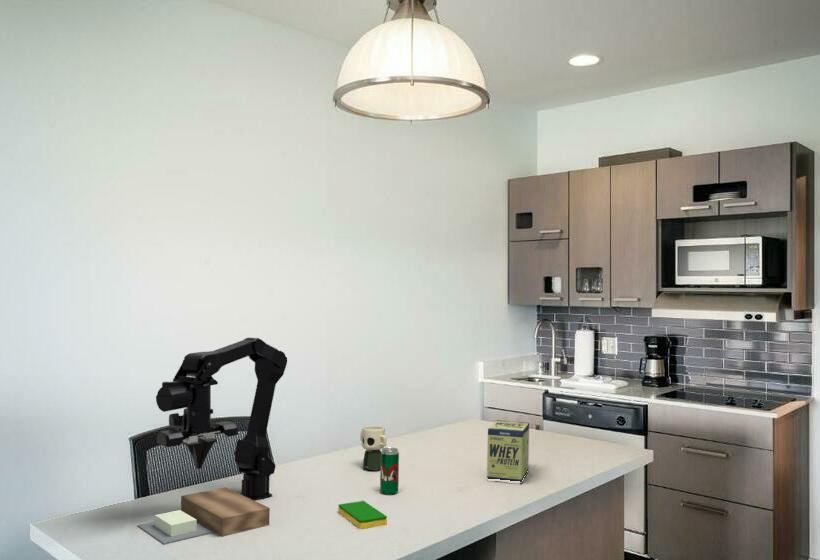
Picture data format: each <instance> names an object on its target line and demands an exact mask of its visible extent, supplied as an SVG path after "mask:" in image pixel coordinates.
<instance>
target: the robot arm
mask: <svg viewBox="0 0 820 560" xmlns="http://www.w3.org/2000/svg"><path fill="white" fill-rule="evenodd" d="M244 358H249V359H250V360H251V361H252V362H254V374H255V376H256V379H257V380H256V381H257V383H256V388H255V394H254V397H253V402H252V407H251V412H250V418H249V422H248V427H247V430H246V431H247V432H246V434H245V435H244V436H243V438H241V439H237V440H236V444H235V445H236V447H235V451H234V452H233V455H234V461H235V463H236V465H237V469H238V472H239V473H243V474H242V477H243V478H242V480H241V492H239V494H241V495H243V496H245V497H247V498H250V499H252V500H254V501H256V500H261V499H265V498H269V497H273V494H272V493H271V492H270V476H271V475H273V474H274V473H275V469H276V466H277V465H276V464H275V463H274V462H273V461H272V460H271V459H270V458H269V452H270V451H269V449H270V447H269V445H268V441H267V438H266V435H267V431H268V424H269V419H270V414H271V410H272V406H273V404H272V403H273V400H274V395H275V390H276V385H277V383H278V382H279V381H280V380H281V378H282V377H283V376H284V374H285V371H286V368H287V366H288V365H287V364H288V357H287V356H286V353H285V352H284V351H282V350H279V349H277V348H276V347H273V346H271V345H270V344H268V343H266V342H265V341H264V340H263V339H261V338H258V337H246V338H244V339H242V340H239V341H236V342H235V343H231V344H228V345H226V346H223V347H220V348H217V349H214V350H209V351H199V352H190V353H188V354H186V355H184V357H183V360H182V362H181V365H180V366H179V369H178V370H177V371H176V374H175V375H174V377H173V379H172V381H163V382H162V383H161V387H160V388H159V390H158V391H157V393H156V396H155V400H156V405H157V407H158V409H159V410H160V411H161V412H164V413H165V412H171V411H175V410H181V409H183V414H182V415H180V414H179V413H178V412H175V413H170V414H169V415H168V425H169V427H170V428H176V429H168V430H161V431H159V432H158V433H157V436H156V443H157V444H158V445H161V446H163V447H166V448H170V447H171V448H172V447H176V446H177V447H178V446H180V445H184V446H186V448H187V449H188V451H189V453H190V455H191V458H192V461H193V463H194V466H195V469H196V470H200V469H202V467H203V465H204V463H205V460H206V458H207V456H208V454H209V452H210V450H211V449H212V447H213V445H214V444H215V443H217V442H218V439H216V438H215V436H216V435H219V434H224V435H225V436H226V437H227V438H228V437H234V436H238V435H239V427H238V425H237V424H236V423H234V422H231V421H228V420H224V421H223V420H222V421H219V422H214V424H213V425H212V417H211V414H214V409H213V408H211V407H212V406H211V405H212V404H211V403H212V401H211V400H212V399H211V398H212V394H211V393H212V392H211V391H212V389H211V386H214V385H215V386H216V385H218V384H219V382H218V380H216V379H215V378H214V377H213V376H214V375H215V374H217V373H218V372H220V370H221V368H223V367H224V366H226V365H229V364H231V363H233V362H236V361H240V360H241V359H244Z"/></svg>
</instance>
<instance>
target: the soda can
mask: <svg viewBox="0 0 820 560" xmlns="http://www.w3.org/2000/svg"><path fill="white" fill-rule="evenodd" d="M399 463H400V452H399V451H398V448H397V447H391V446H390V447H384V448H382V449H381V467H380V472H379V473H380V474H379V475H380V476H379V477H380V478H379V479H380V480H379V481H380V483H379V491H380V492H381V494H383V495H386V494H392V495H395V493H396V494H397V493H398V492H399V485H400V484H399V481H400V480H399V479H400V478H399V477H400V476H399V475H400V474H399V473H400V464H399Z"/></svg>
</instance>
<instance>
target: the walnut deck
mask: <svg viewBox="0 0 820 560" xmlns="http://www.w3.org/2000/svg"><path fill="white" fill-rule="evenodd" d="M270 509H271V508H270V506H266V505H264V504H262V503H260V502H258V501H256V500H252V499H250V498H247V497H245V496H243V495H241V494H240V492H236V491H235V490H232V489H230V488H228V487H219V488H215V489H209V490H205V491H200V492H195V493H194V492H193V493H189V494H185V495H181V496H180V510H181V511H183V512H184V513H186V514H188V515H190V516H191V517H193V518H195V519H197V523H198V524H199V525H200V524H201V526H203V527H206V529H208V530H211V532H214V533H216V534H217V535H219V536H222V537H225V536H230V535H234V534H238V533H242V532H243V533H244V532H246V531H250V530H255V529H258V528H259V529H260V528H262V527H267V526H270V514H271V513H270V512H271V511H270Z"/></svg>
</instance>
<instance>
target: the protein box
mask: <svg viewBox="0 0 820 560" xmlns="http://www.w3.org/2000/svg"><path fill="white" fill-rule="evenodd" d="M529 441H530V422H524V421H511V420H503V419H502V420H500V419H497V420H496V421H495V422H494V423H492V424H491V425H490V427H489V428H487V452H486V453H487V455H486V456H487V457H486V459H487V460H486V462H487V463H486V464H487V466H486V471H487V472H486V479H487V478H488V479H500V480H510V481H520V482H522V480H523V478H524V476H525V475H526V473H527V471H528V472H529V462H530V461H529V459H530V458H529V455H530V452H529V451H530V449H529V448H530V443H529ZM527 474H528V473H527ZM526 476H527V475H526ZM523 481H524V480H523ZM522 483H523V482H522Z"/></svg>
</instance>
